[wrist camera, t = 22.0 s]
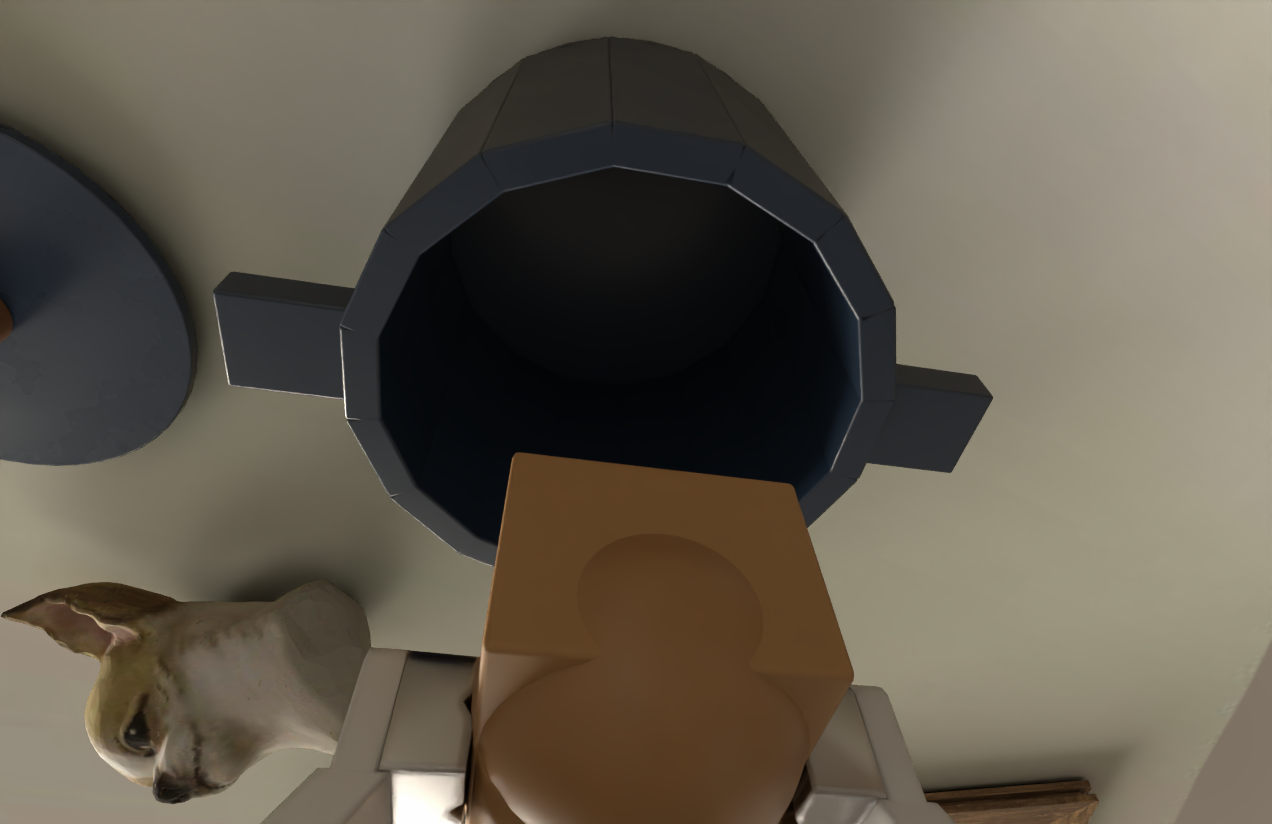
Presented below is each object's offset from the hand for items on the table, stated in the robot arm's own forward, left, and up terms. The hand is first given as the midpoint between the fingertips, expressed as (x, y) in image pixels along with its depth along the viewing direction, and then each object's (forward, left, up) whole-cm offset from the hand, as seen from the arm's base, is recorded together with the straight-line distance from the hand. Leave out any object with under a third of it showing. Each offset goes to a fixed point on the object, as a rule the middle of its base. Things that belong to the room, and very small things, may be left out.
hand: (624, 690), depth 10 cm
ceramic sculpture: (+21, -14, -17) cm, 30 cm away
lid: (+5, -20, -16) cm, 26 cm away
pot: (0, 0, -17) cm, 17 cm away
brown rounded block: (0, 0, -2) cm, 2 cm away
